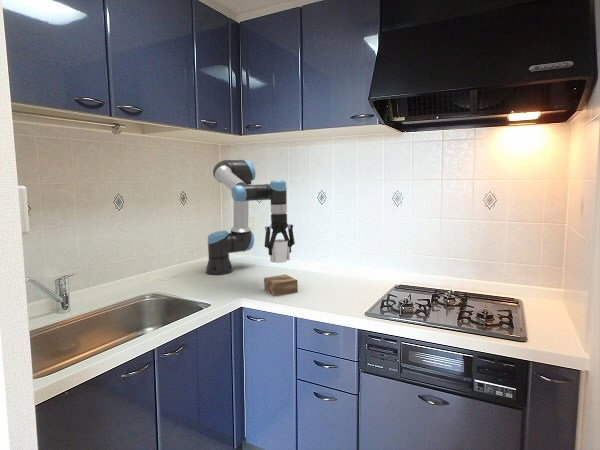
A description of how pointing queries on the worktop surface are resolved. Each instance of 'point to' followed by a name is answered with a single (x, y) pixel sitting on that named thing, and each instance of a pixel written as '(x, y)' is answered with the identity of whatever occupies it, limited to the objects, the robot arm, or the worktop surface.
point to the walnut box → (280, 285)
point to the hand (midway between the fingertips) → (280, 260)
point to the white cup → (280, 250)
